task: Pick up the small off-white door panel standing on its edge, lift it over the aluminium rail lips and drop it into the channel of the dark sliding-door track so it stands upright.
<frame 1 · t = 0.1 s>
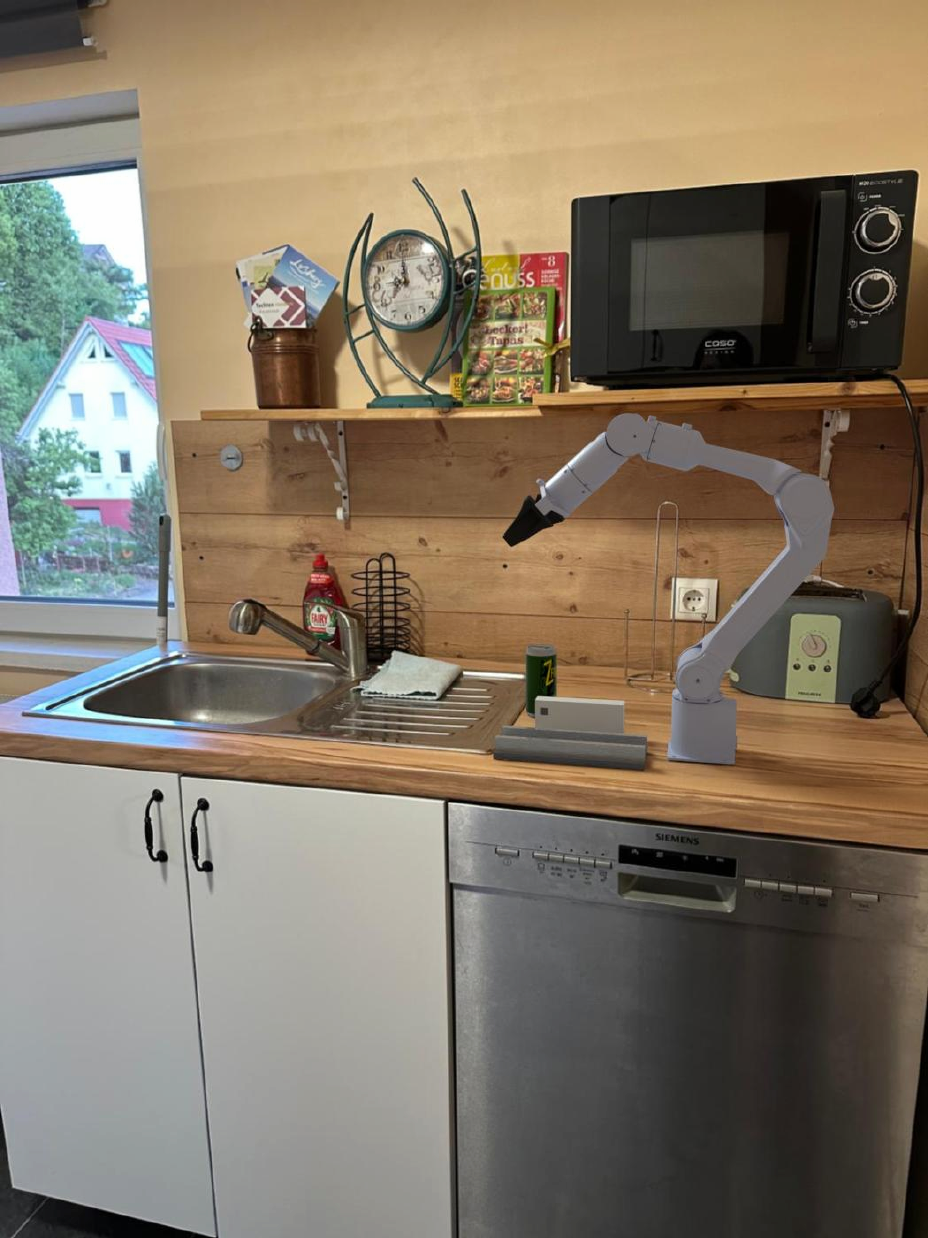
hand: (512, 539, 126), 32 cm above the worktop, tool tilted 50°, fingers open, 7 cm apart
door panel: (579, 736, 134), on the worktop
track: (570, 755, 125), on the worktop
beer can: (541, 715, 145), on the worktop
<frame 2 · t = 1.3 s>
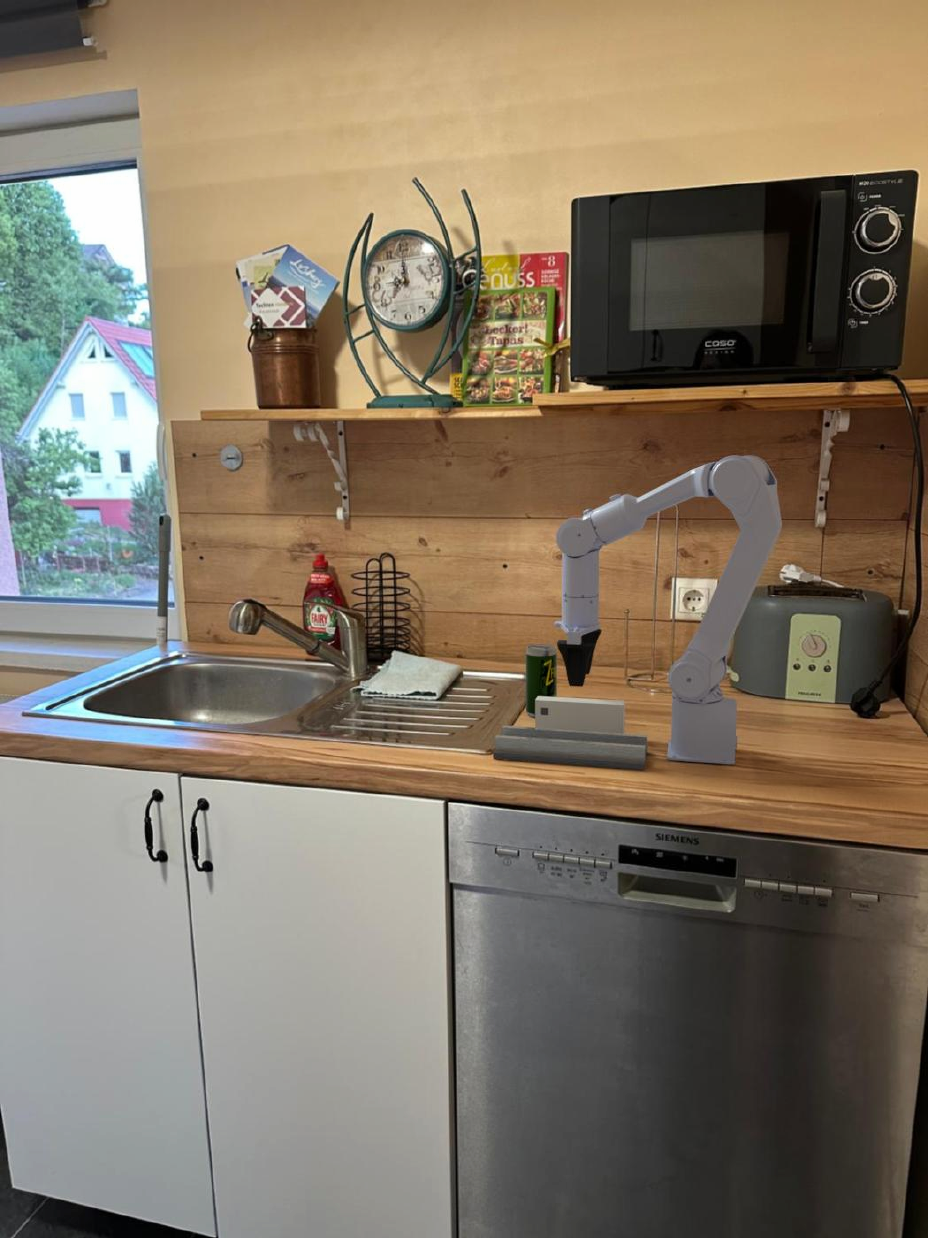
hand: (579, 679, 132), 9 cm above the worktop, tool pointing down, fingers open, 7 cm apart
nothing on the worktop moved.
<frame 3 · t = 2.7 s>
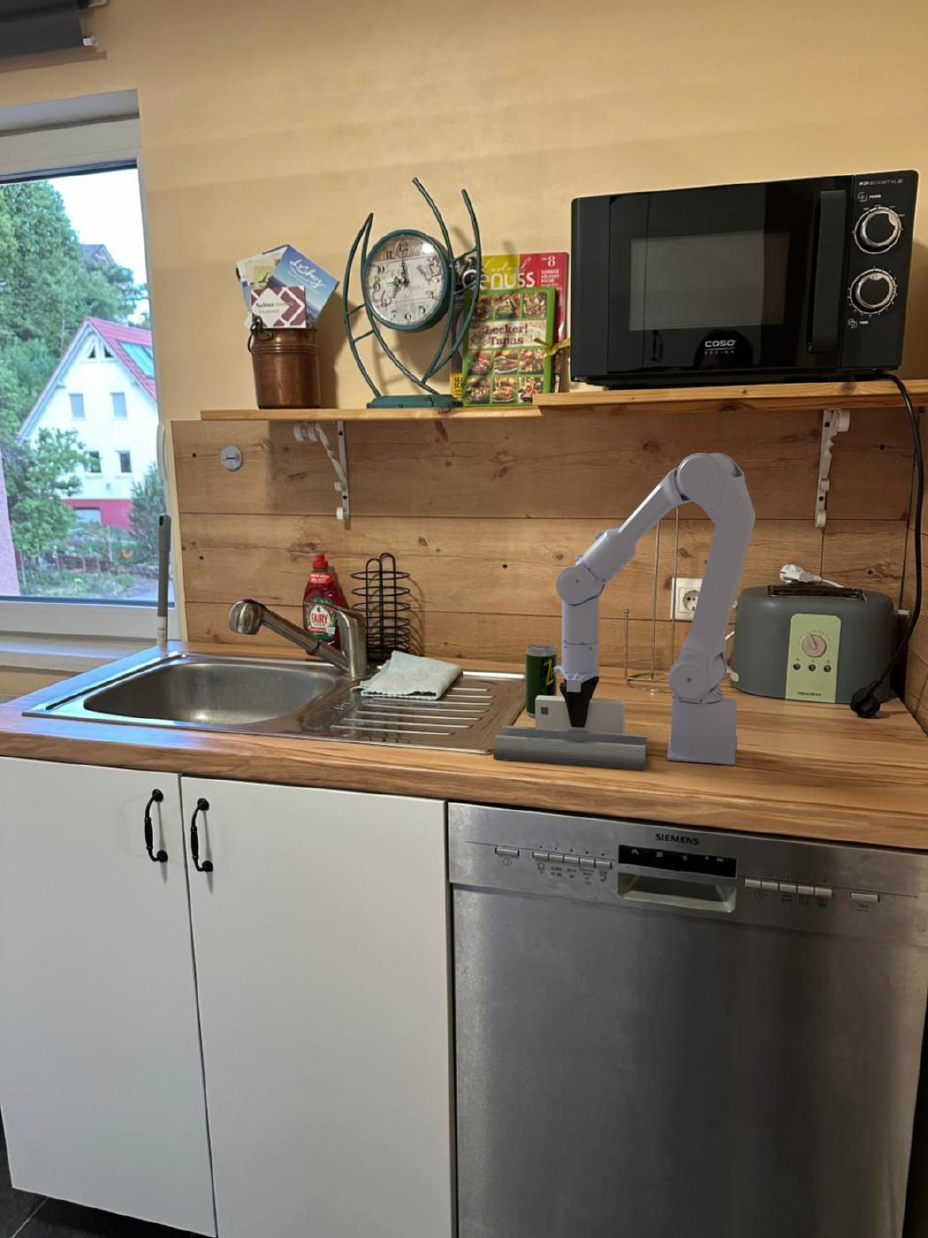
hand: (579, 723, 133), 2 cm above the worktop, tool pointing down, fingers closed on door panel, 2 cm apart
door panel: (579, 735, 134), on the worktop, touching gripper
everything else where it was.
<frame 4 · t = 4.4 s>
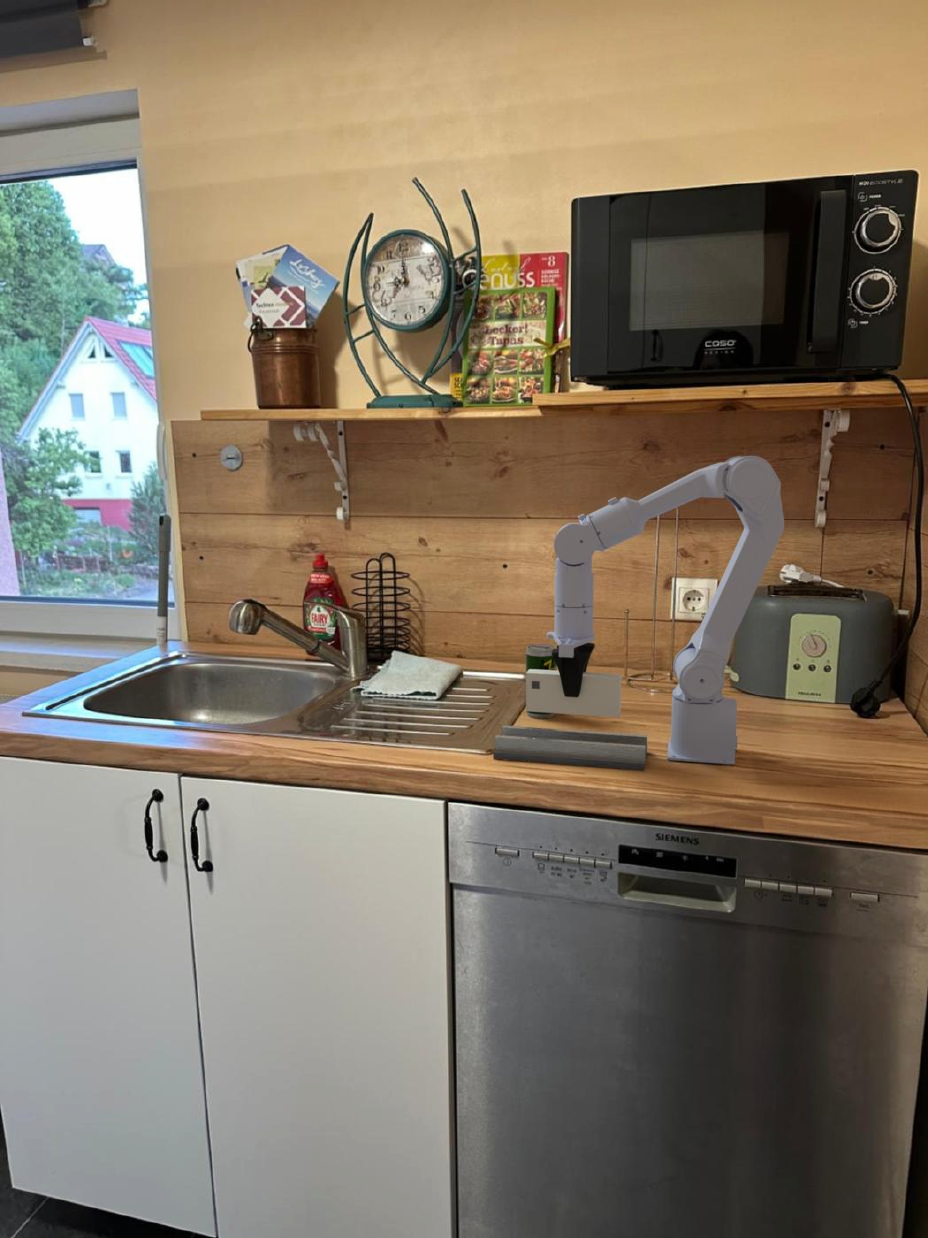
hand: (573, 693, 125), 9 cm above the worktop, tool pointing down, fingers closed on door panel, 2 cm apart
door panel: (573, 712, 126), point 6 cm above the worktop, touching gripper
everything else where it was.
when the fingers open (4 cm above the worktop, at t = 5.9 s): door panel stays where it is, resting on track.
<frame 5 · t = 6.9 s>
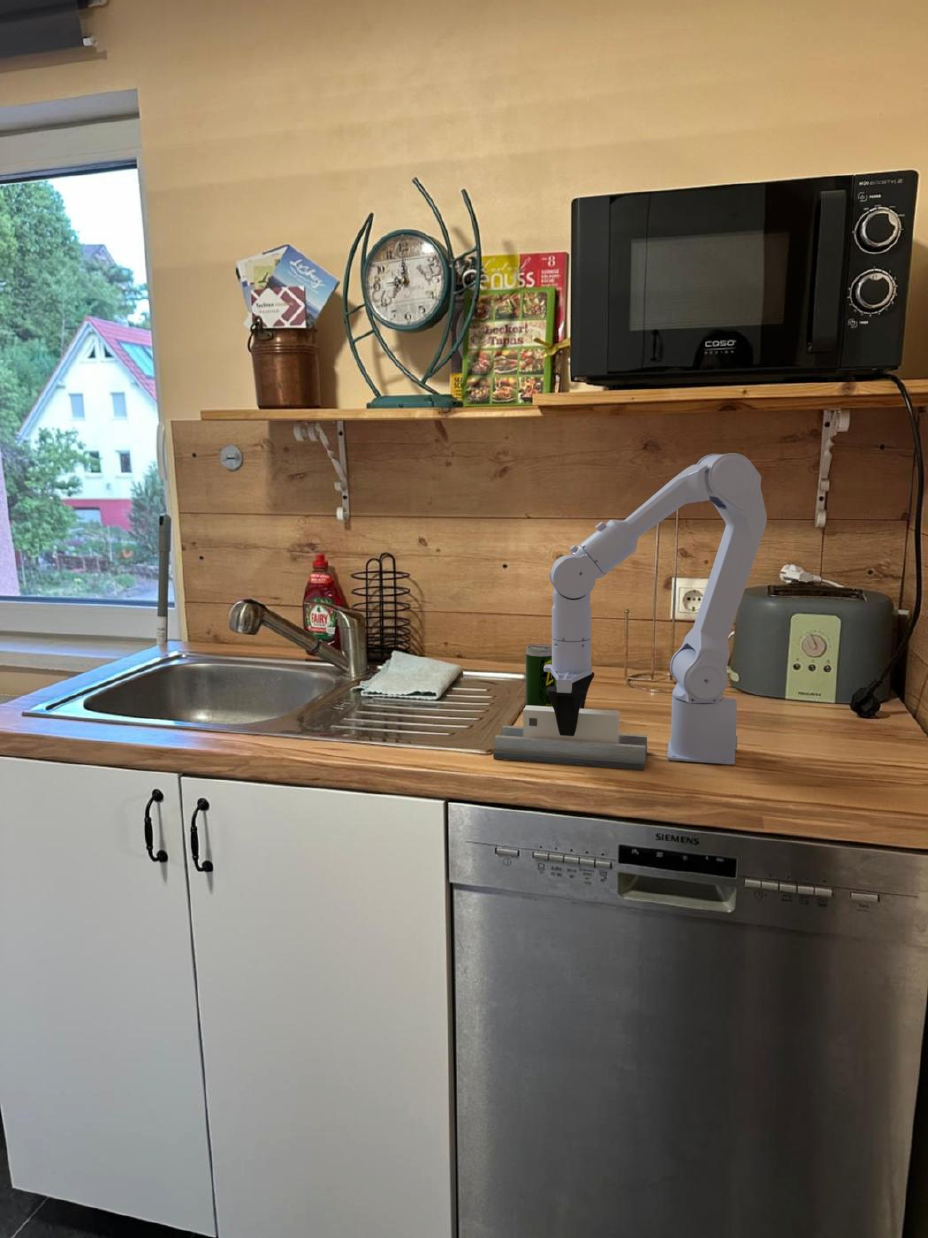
hand: (570, 727, 124), 4 cm above the worktop, tool pointing down, fingers open, 7 cm apart
door panel: (570, 748, 125), point 1 cm above the worktop, touching track
everything else where it was.
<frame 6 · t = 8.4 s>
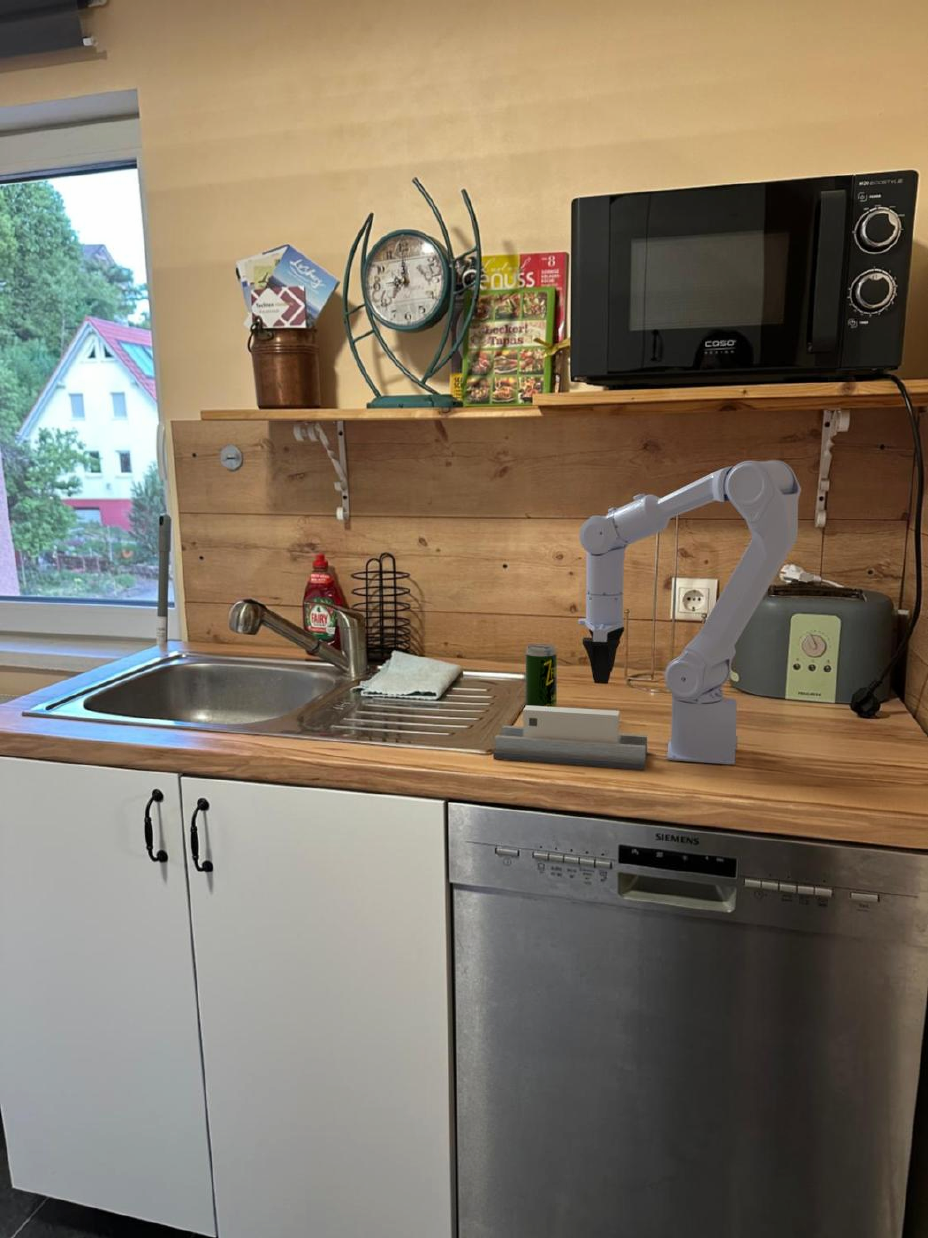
hand: (603, 676, 133), 9 cm above the worktop, tool pointing down, fingers open, 7 cm apart
nothing on the worktop moved.
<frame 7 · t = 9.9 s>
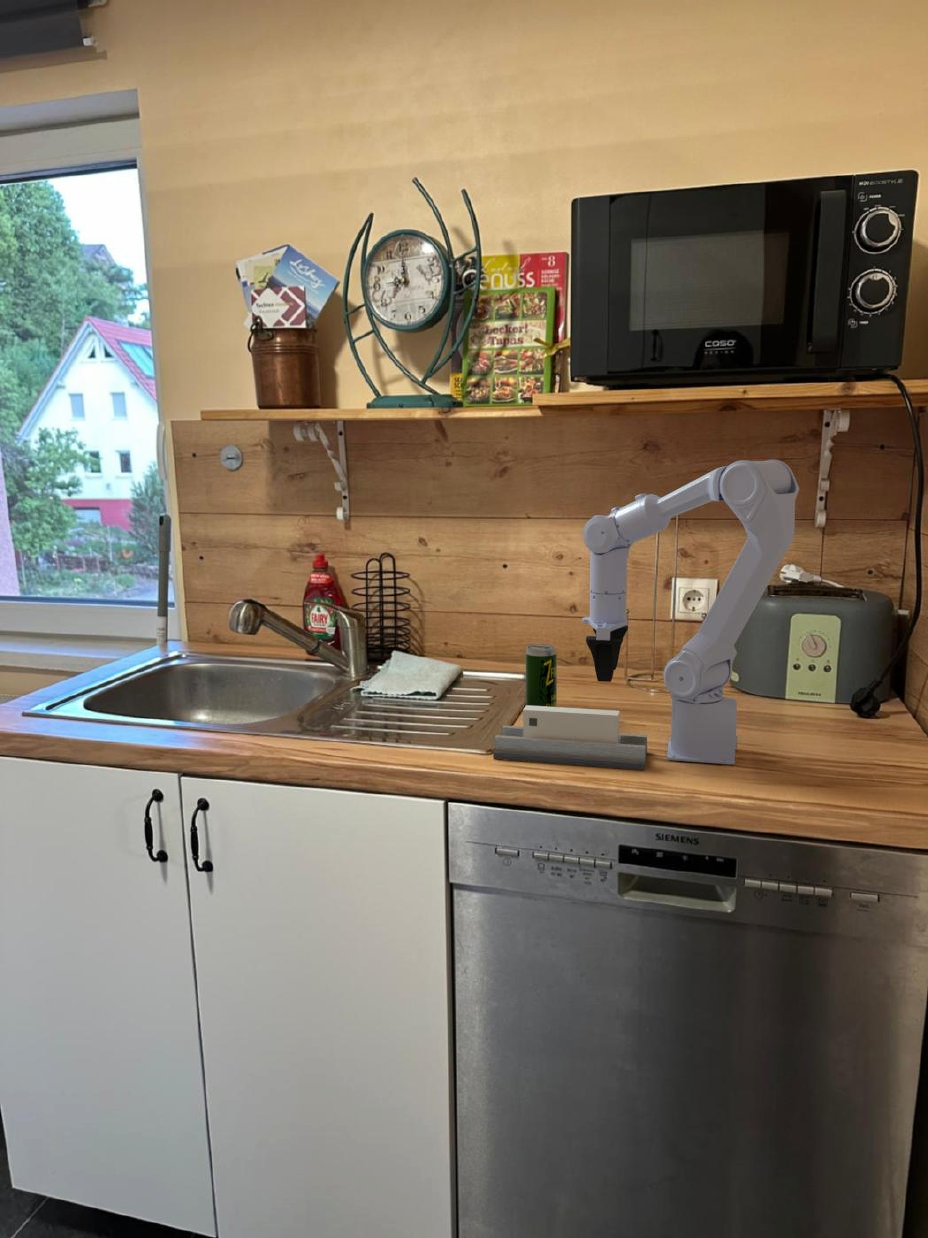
hand: (607, 675, 134), 9 cm above the worktop, tool pointing down, fingers open, 7 cm apart
nothing on the worktop moved.
at the end: door panel 0.0 cm off-centre on the track, point 1.0 cm above the track's base; door panel tilted 0°; the gripper is holding nothing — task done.
